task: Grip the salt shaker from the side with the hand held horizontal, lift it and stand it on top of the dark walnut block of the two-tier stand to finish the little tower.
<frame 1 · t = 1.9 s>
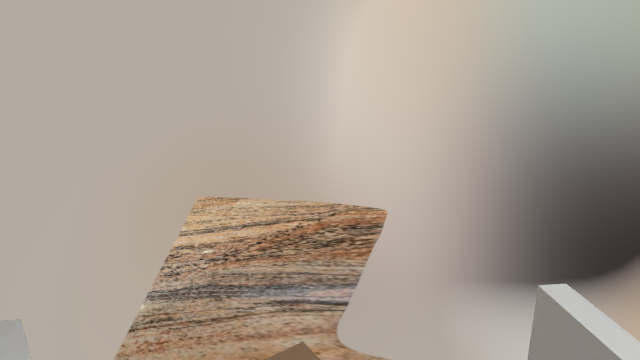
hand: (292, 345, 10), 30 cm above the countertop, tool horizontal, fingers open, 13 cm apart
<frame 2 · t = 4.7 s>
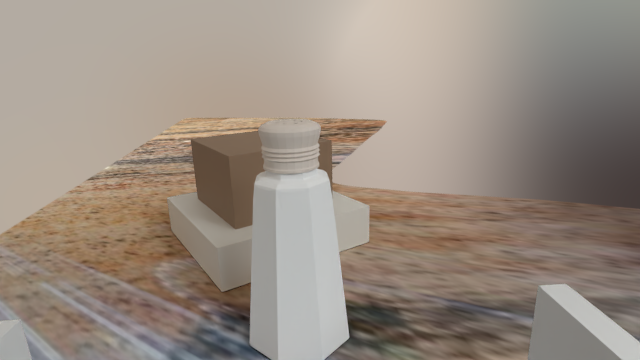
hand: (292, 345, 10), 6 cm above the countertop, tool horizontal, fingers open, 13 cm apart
salt shaker: (299, 333, 21), on the countertop
stand: (265, 235, 33), on the countertop
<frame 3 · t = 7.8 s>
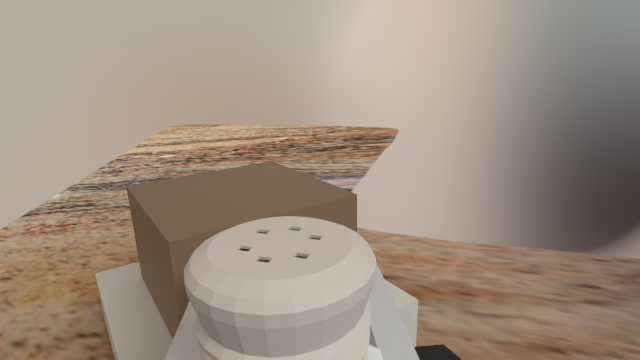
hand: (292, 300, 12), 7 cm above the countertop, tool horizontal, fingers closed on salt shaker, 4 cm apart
stand: (248, 336, 21), on the countertop
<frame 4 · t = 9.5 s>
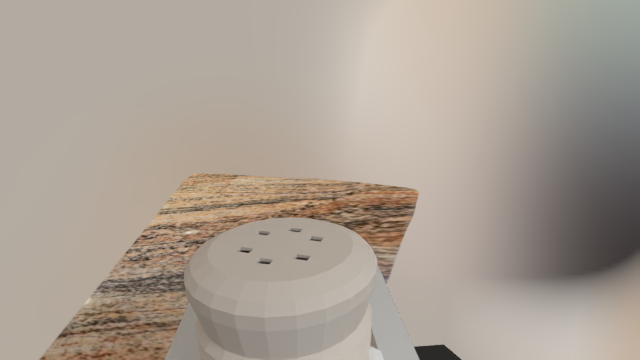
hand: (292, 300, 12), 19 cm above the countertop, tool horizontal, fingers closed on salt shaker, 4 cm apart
when the fingers open (16 cm above the countertop, at t = 11.3 s): salt shaker drops 1 cm, resting on stand.
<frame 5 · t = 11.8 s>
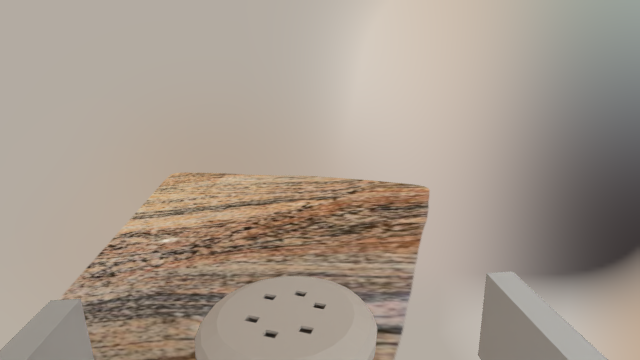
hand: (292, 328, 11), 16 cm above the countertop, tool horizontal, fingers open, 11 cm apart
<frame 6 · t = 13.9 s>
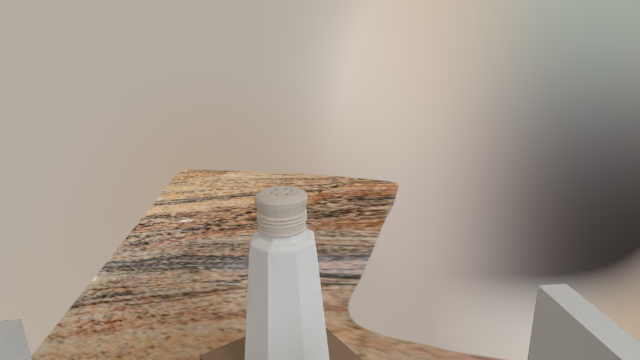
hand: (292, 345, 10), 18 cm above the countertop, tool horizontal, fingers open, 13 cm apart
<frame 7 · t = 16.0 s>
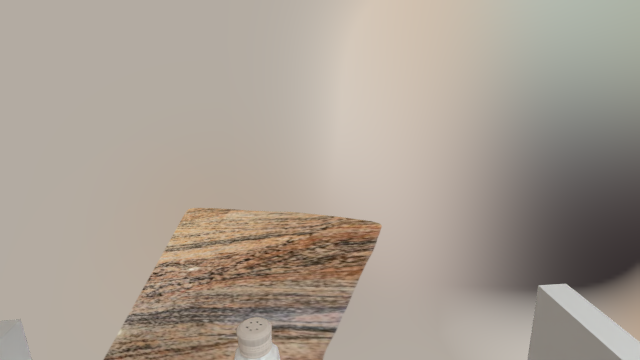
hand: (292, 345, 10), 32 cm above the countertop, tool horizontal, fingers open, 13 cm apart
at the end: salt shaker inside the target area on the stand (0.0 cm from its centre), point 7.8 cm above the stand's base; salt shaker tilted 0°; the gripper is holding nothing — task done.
